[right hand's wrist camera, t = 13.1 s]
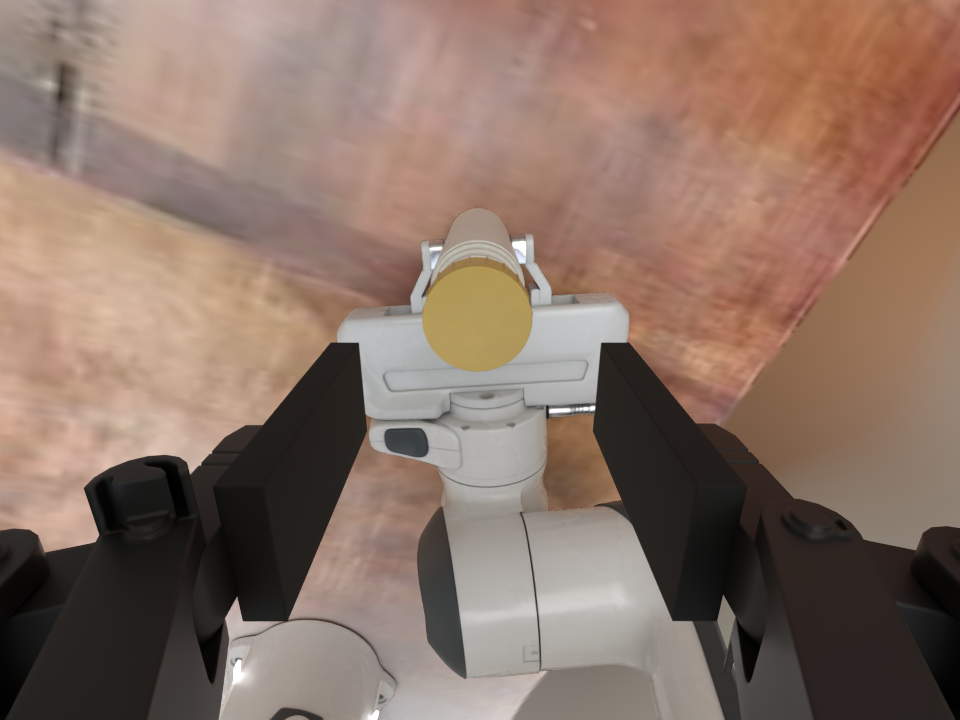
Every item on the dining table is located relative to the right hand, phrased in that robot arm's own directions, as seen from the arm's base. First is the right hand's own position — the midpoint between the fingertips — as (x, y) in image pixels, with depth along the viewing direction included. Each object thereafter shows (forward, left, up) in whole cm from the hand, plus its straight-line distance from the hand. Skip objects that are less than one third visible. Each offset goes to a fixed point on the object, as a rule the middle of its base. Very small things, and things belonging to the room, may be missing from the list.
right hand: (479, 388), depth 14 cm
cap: (0, 0, -6) cm, 6 cm away
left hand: (-1, 0, -22) cm, 22 cm away
